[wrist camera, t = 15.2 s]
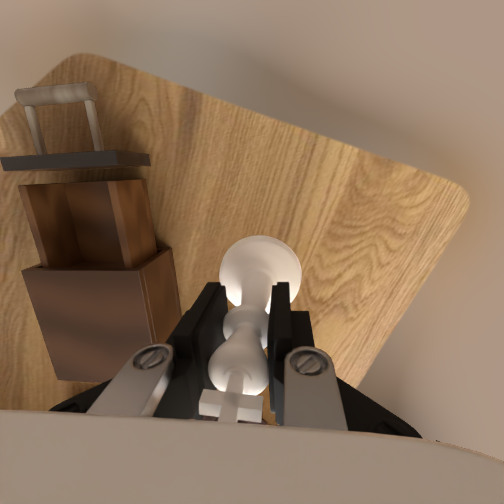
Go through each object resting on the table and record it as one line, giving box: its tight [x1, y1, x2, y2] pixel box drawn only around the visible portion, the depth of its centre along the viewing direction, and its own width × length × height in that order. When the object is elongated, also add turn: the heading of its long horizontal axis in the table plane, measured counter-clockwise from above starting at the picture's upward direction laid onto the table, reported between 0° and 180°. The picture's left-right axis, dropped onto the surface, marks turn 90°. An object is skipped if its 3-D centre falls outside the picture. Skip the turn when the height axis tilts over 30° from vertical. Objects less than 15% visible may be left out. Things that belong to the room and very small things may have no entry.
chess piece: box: [199, 235, 302, 423], centre depth 11 cm, size 5×5×10 cm
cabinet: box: [21, 248, 182, 383], centre depth 31 cm, size 14×13×8 cm
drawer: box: [0, 82, 157, 268], centre depth 26 cm, size 18×11×6 cm, turn 3°
